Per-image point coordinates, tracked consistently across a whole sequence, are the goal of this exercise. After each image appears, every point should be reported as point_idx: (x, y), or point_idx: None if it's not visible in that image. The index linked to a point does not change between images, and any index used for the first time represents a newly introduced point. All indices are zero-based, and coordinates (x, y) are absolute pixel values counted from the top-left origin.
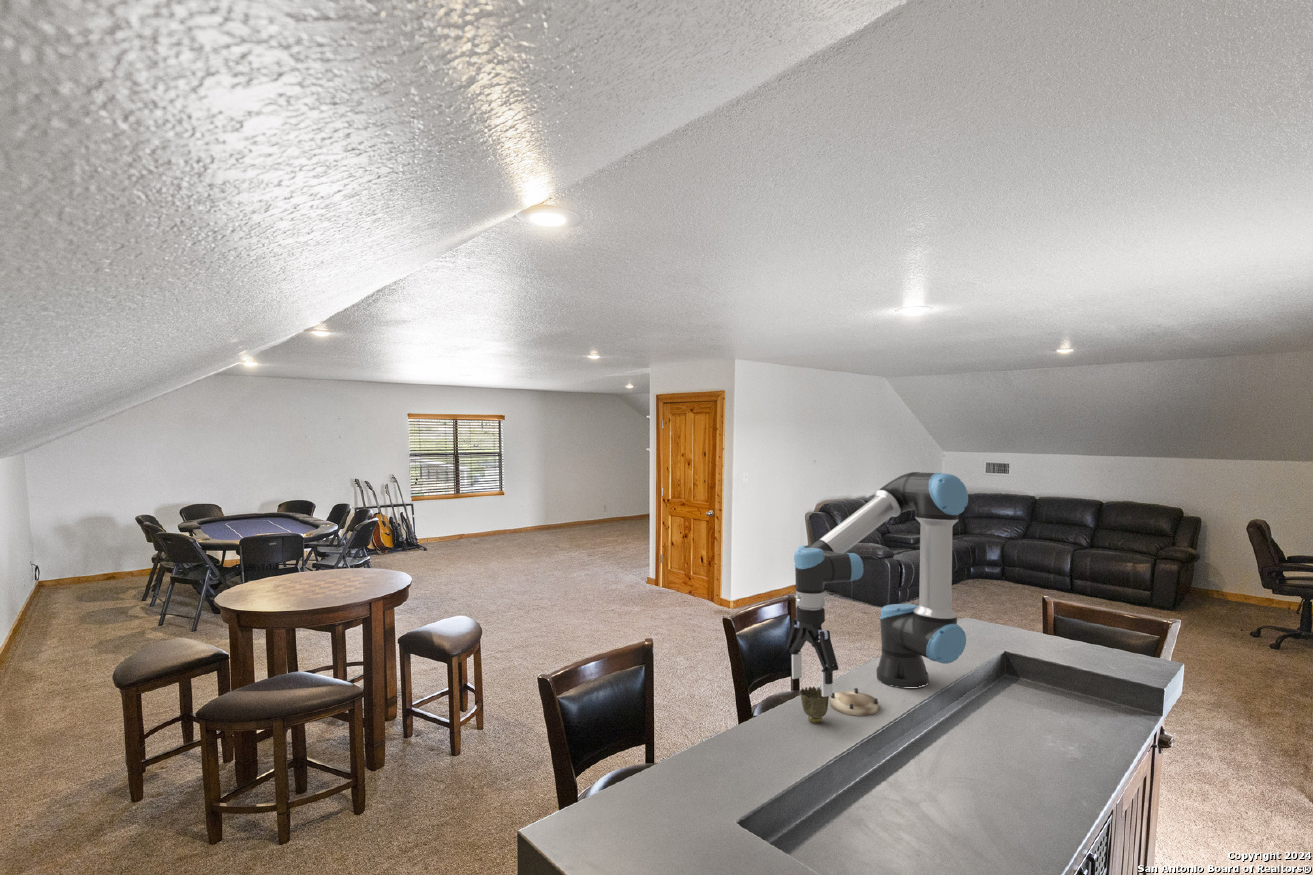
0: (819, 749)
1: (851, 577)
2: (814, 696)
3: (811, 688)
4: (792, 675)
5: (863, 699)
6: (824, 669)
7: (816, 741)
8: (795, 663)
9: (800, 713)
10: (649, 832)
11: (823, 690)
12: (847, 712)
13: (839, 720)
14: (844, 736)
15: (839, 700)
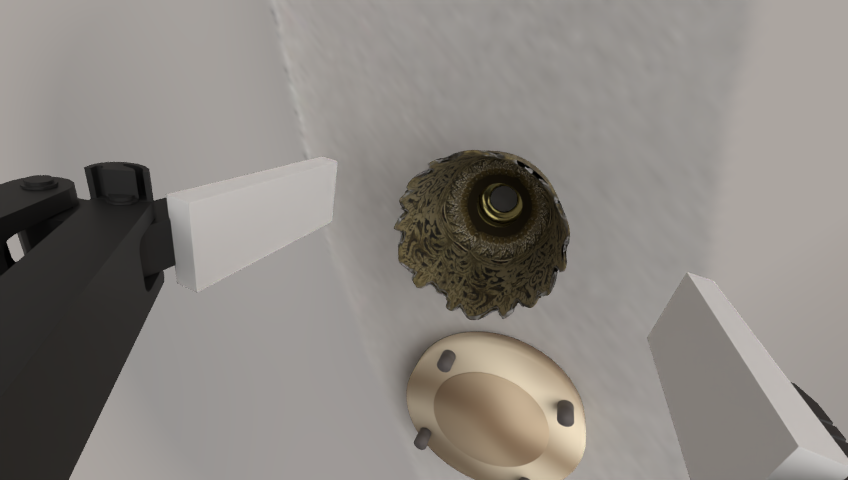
0: (332, 7)
1: None
2: (529, 275)
3: (542, 291)
4: (711, 288)
5: (469, 440)
6: (91, 173)
7: (382, 51)
8: (721, 377)
9: (609, 217)
10: None
11: (295, 163)
12: (461, 336)
13: None
14: (356, 175)
15: (524, 392)
